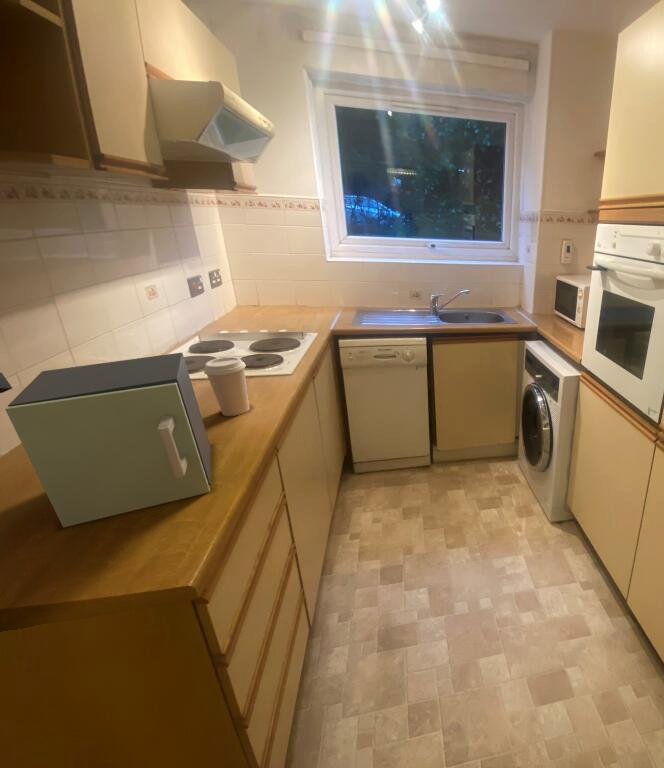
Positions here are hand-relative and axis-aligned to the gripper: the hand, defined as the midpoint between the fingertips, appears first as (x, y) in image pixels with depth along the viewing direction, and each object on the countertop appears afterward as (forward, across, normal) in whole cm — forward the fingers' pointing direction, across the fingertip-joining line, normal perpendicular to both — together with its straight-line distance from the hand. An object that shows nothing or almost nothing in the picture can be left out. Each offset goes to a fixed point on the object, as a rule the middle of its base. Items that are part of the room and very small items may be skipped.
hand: (1, 382), depth 65 cm
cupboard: (+25, -3, -22) cm, 33 cm away
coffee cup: (+54, +10, -14) cm, 57 cm away
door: (+13, -2, -27) cm, 30 cm away
